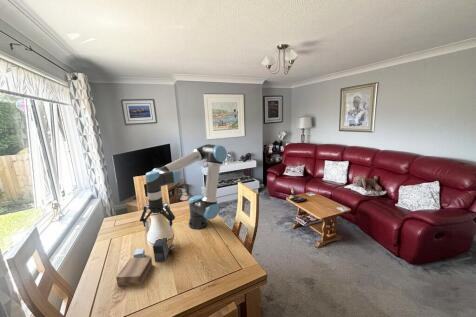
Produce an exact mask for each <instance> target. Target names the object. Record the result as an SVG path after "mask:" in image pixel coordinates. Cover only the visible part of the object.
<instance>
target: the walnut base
mask: <svg viewBox="0 0 476 317" xmlns="http://www.w3.org/2000/svg"><path fill="white" fill-rule="evenodd" d="M152 266H153V261H152V257H151V256H149V257H147V256H146V257H144V258H134V257H130V258H129V260H127V262H126V264H124V266H123V268H122V269H121V270H120V271H119V273H118V274H117V275H116V276H115V279H116V284H117V286H119V287H120V286H140V285H143V283H144V280H145V279H146V277H147V275H148V273H149V272H150V270H151V268H152Z"/></svg>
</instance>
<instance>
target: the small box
mask: <svg viewBox="0 0 476 317" xmlns="http://www.w3.org/2000/svg"><path fill="white" fill-rule="evenodd" d="M152 249H153V257H154V262H165V261H166V260H167V257H168V255H169V252H170V249H171V248H170V247H169V248H168V244H167V238H163V239H158V240H156V239H155V241H154V244H153V245H152Z"/></svg>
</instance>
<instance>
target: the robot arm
mask: <svg viewBox="0 0 476 317" xmlns="http://www.w3.org/2000/svg"><path fill="white" fill-rule="evenodd" d="M227 157H228V152H227V149H226V148H225V146H223V145H220V144H210V143H209V144H207V143H206V144H204V145H201V146H199V147H197V148H195V149H193V151H192V152H190V153H187V154H186V155H183V156H182V157H180V158H178V159H176V160H173V161H172V162H170V163H167V164H166V165H163V166H161V167H155V168H153V169H152V170H151V171H148V172H146V173H145V184H146V192H147V199H148V201H147V202H148V205H147V204H146V205H144V206H143V210H142V211H143V212H142V213H141V216H140V217H139V218H140V219H139V222H142V223H143V227H144V228H145V233H149V231H150V226H149V217H150V216H151V215H152V214H160V215H162V216H163V217H164V218H166V220H167V226H168V232H169V233H171V231H172V226H173V221H174V220H176V216H175V214H174V213H173V211H172V210H171V209H170V206H169V205H170V204H165V205H164V202H163V196H162V187H164V186H169V185H172V184H173V185H174V184H176V183H178V182H180V179H181V175H180V173H179V172H180V171H181V170H184V169H185V168H187V167H189V166H190V165H192V164H195V162H201V161H204V160H206V164H207V165H208V166H207V173H206V180H205V188H204V194H201V195H200V194H199V195H194V196H191V197H190V198H189V199H188V204H189V205H188V206H189V220H188V227H189V228H190V229H192V230H200V229H203V228H206V226H208V225H207V224H209V220H214V219H215V218H217V216H218V215H219V212H220V206H219V205H218V199H217V189H218V184H219V176H220V170H221V166H222V165H223V164H224V163H223V162H225V161H226V159H227ZM148 210H149V212H148ZM147 212H148V214H147ZM146 214H147V215H146ZM145 216H146V217H145Z"/></svg>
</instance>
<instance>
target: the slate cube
mask: <svg viewBox="0 0 476 317" xmlns="http://www.w3.org/2000/svg"><path fill="white" fill-rule="evenodd" d="M145 256H146V252H145V248H137V249H134V253H133V258H146V257H145Z"/></svg>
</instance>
